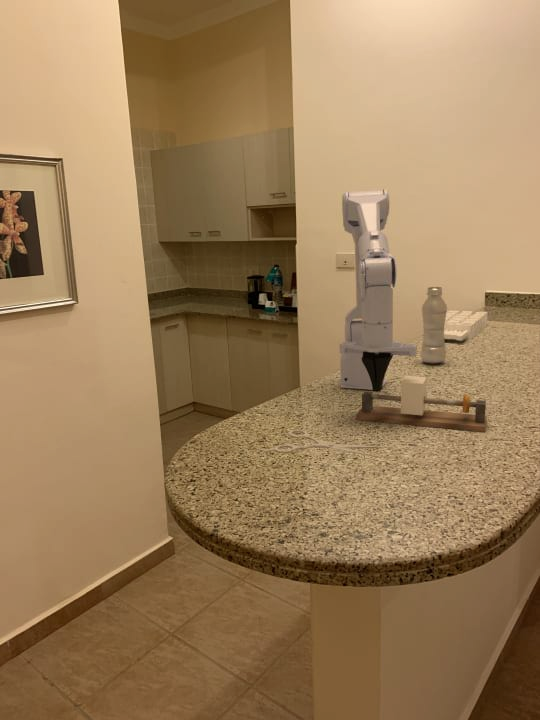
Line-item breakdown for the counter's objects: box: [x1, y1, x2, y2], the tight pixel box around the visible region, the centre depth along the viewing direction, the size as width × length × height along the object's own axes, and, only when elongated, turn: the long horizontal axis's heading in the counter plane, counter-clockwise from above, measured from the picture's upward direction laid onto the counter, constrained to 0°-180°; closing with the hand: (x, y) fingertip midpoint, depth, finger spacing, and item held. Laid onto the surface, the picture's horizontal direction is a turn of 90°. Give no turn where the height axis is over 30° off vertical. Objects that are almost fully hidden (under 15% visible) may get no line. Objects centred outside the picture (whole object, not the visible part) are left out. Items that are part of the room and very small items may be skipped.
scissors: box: [262, 429, 380, 458], centre depth 94 cm, size 11×1×20 cm
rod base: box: [355, 391, 488, 433], centre depth 103 cm, size 24×6×6 cm, turn 66°
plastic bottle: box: [420, 286, 448, 365], centre depth 142 cm, size 6×7×20 cm
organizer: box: [444, 310, 489, 341], centre depth 179 cm, size 13×5×35 cm
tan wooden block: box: [400, 375, 427, 415], centre depth 103 cm, size 4×4×6 cm
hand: (377, 390), depth 106 cm, fingers closed
